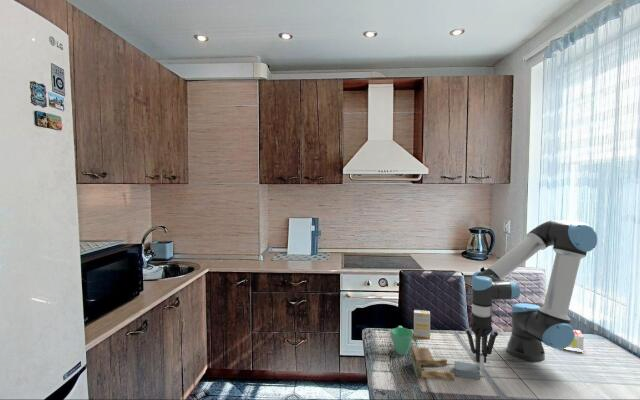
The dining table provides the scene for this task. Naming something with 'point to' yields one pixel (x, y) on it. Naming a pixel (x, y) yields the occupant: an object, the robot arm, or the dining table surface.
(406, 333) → the green pitcher
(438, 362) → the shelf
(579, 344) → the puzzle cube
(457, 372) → the tile
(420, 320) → the supplement box
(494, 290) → the robot arm
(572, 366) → the dining table surface
